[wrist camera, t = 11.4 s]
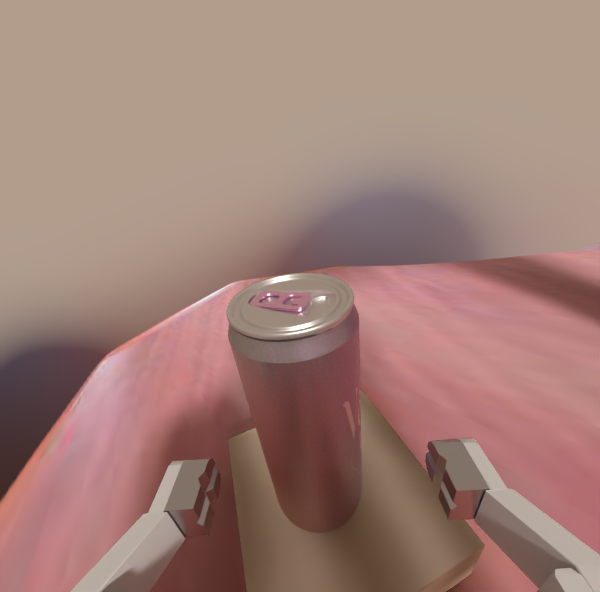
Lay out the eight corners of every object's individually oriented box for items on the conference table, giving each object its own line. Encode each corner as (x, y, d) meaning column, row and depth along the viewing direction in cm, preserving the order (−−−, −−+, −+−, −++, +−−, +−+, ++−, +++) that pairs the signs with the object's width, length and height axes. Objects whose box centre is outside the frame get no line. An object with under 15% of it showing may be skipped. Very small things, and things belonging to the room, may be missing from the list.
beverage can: (295, 434, 22) (262, 269, 15) (367, 455, 20) (367, 272, 13) (262, 516, 17) (190, 327, 10) (353, 556, 15) (341, 348, 8)
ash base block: (359, 413, 27) (358, 385, 26) (471, 573, 16) (484, 545, 14) (238, 466, 24) (227, 438, 22) (275, 714, 13) (259, 700, 11)
